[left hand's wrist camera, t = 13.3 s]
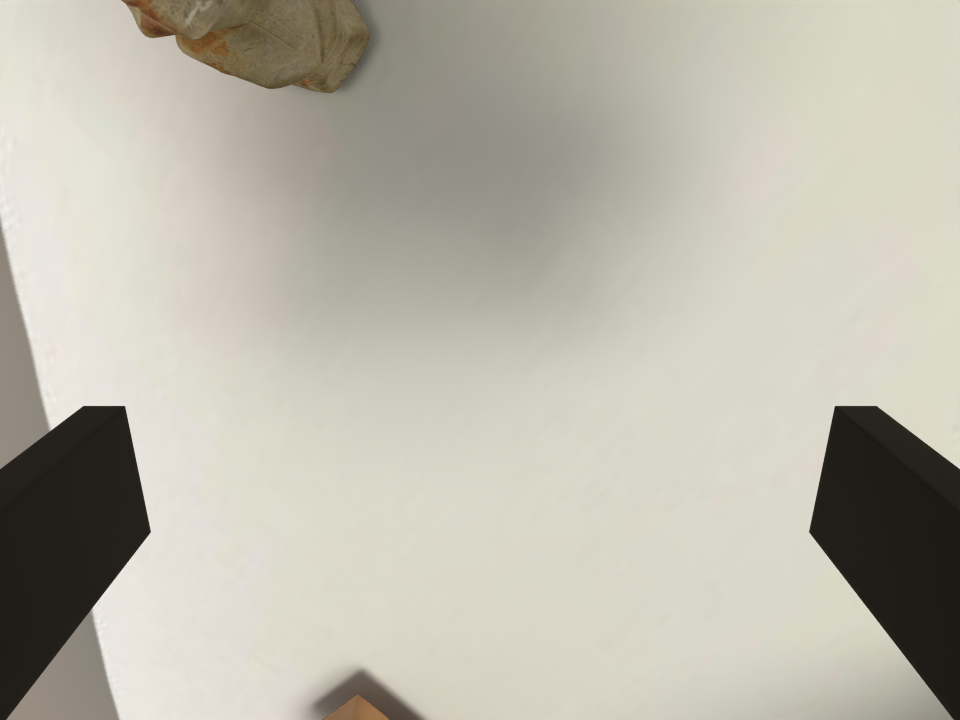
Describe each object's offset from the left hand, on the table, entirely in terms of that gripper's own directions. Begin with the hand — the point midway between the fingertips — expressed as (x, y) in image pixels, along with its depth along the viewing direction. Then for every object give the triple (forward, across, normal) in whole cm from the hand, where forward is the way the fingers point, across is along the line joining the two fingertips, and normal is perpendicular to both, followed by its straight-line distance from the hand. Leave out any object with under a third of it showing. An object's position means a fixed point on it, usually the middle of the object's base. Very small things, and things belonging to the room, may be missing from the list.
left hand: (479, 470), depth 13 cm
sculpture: (+25, -9, +10) cm, 28 cm away
